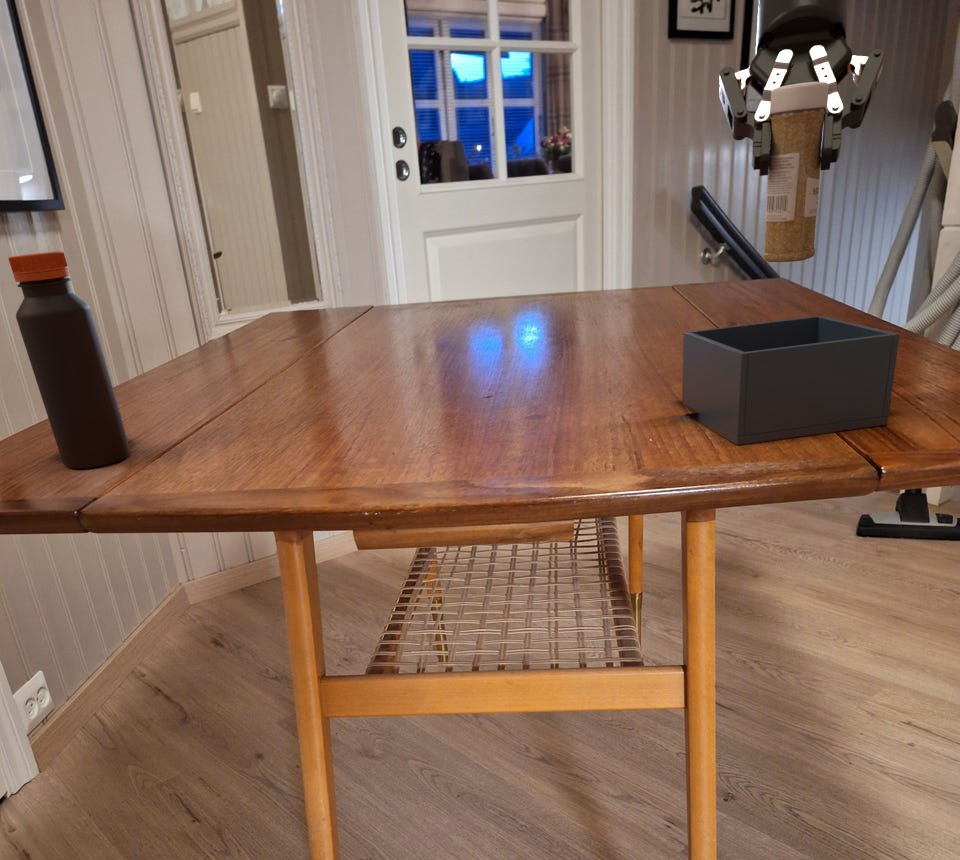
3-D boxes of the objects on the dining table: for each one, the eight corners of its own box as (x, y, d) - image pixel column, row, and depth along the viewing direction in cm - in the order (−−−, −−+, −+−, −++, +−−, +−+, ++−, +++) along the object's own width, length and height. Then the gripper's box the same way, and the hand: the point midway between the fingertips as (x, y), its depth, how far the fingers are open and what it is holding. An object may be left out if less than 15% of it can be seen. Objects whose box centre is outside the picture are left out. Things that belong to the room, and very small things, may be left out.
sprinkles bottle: (824, 258, 77) (840, 78, 70) (776, 264, 76) (788, 83, 70) (797, 255, 81) (810, 84, 74) (751, 260, 80) (761, 89, 74)
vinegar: (75, 455, 94) (12, 255, 85) (138, 448, 94) (83, 248, 85) (54, 473, 88) (-15, 260, 79) (122, 465, 88) (60, 252, 79)
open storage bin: (813, 395, 89) (821, 315, 85) (887, 425, 77) (900, 333, 74) (681, 412, 88) (683, 331, 84) (736, 445, 76) (741, 353, 72)
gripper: (719, -20, 76) (707, 138, 72) (896, -47, 72) (896, 118, 68) (719, 58, 83) (708, 206, 78) (881, 37, 79) (879, 191, 75)
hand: (795, 164), depth 73 cm, fingers closed on sprinkles bottle, 4 cm apart
